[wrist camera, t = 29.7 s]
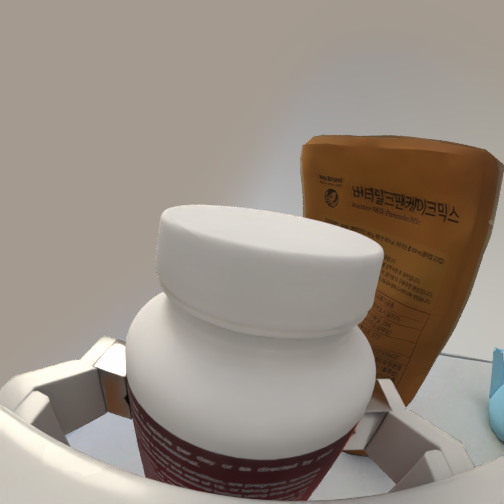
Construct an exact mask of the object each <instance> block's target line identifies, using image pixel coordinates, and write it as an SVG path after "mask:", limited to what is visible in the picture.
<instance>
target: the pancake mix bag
mask: <svg viewBox="0 0 504 504" xmlns="http://www.w3.org/2000/svg"><path fill="white" fill-rule="evenodd" d="M503 172H504V165H503V164H502V163H501V162H500V161H499V160H498V159H496V158H495V157H494V156H493V155H492V154H491V153H489V152H488V151H487V150H485V149H481V148H477V147H472V146H468V145H464V144H459V143H454V142H448V141H442V140H433V139H425V138H417V137H408V136H394V135H389V136H388V135H382V136H352V135H320V136H315V137H313V138H312V139H310V140H309V141H308V142H307V143H306V144H305V145H303V146H302V152H301V158H300V174H301V182H302V193H303V217H304V218H308V219H312V220H317V221H321V222H324V223H328V224H332V225H335V226H338V227H342V228H345V229H348V230H351V231H354V232H356V233H359V234H361V235H363V236H366V237H368V238H370V239H372V240H373V241H375V242H376V243H378V244H379V245H380V246H381V247H382V249H383V252H384V258H383V262H382V266H381V270H380V275H379V279H378V284H377V288H376V291H375V297H374V302H373V305H372V307H371V308H370V310H369V311H368V313H367V316H366V317H365V318H364V319H363V321H362V322H360V323H359V324H358V325H357V326H358V327H359V328H360V330H361V331H362V333H363V334H364V335H365V337H366V338H367V340H368V342H369V344H370V346H371V349H372V352H373V355H374V359H375V365H376V378H375V379H390V380H391V381H392V382H393V384H394V386H395V388H396V390H397V392H398V394H399V395H400V397H401V399H402V401H403V403H404V405H405V407H407V405H408V404H409V403H410V402H411V401H412V400H413V398H414V397H415V395H416V393H417V392H418V390H419V388H420V386H421V385H422V383H423V381H424V380H425V378H426V376H427V375H428V373H429V371H430V369H431V367H432V366H433V364H434V362H435V360H436V358H437V357H438V355H439V354H440V352H441V351H442V349H443V348H444V346H445V345H446V343H447V341H448V340H449V338H450V336H451V335H452V333H453V331H454V329H455V327H456V325H457V323H458V321H459V319H460V317H461V314H462V312H463V310H464V308H465V306H466V303H467V301H468V299H469V297H470V294H471V291H472V288H473V285H474V282H475V279H476V276H477V273H478V270H479V267H480V264H481V261H482V257H483V254H484V252H485V250H486V247H487V245H488V242H489V239H490V237H491V234H492V229H493V224H494V220H495V216H496V211H497V206H498V201H499V195H500V189H501V184H502V177H503ZM342 451H344V452H347V453H350V454H353V455H361V456H368V455H367V454H366V452H365V451H364V450H342Z"/></svg>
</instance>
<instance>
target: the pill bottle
mask: <svg viewBox="0 0 504 504" xmlns="http://www.w3.org/2000/svg"><path fill="white" fill-rule="evenodd" d="M383 258H384V252H383V249H382V247H381V246H380V245H379V244H378V243H376V242H375V241H373V240H372V239H370V238H368V237H366V236H363V235H361V234H359V233H356V232H354V231H351V230H348V229H345V228H342V227H338V226H335V225H332V224H328V223H324V222H321V221H317V220H312V219H308V218H304V217H299V216H294V215H288V214H283V213H277V212H271V211H264V210H257V209H249V208H242V207H230V206H217V205H216V206H215V205H183V206H177V207H172V208H169V209H166V210H165V211H164V212H163V213H162V215H161V219H160V225H159V233H158V242H157V251H156V260H155V269H156V273H157V276H158V281H159V284H160V287H161V289H162V290H163V292H162V293H160V294H159V295H157V296H155V297H154V298H153V299H151V300H150V301H149V302H148V303H147V304H146V305H145V306H144V307H143V308H142V309H141V310H140V311H139V312H138V314H137V315H136V317H135V318H134V320H133V322H132V324H131V326H130V328H129V331H128V334H127V339H126V344H125V368H126V381H127V385H128V392H129V400H130V406H131V412H132V417H133V423H134V428H135V433H136V438H137V443H138V448H139V452H140V456H141V460H142V464H143V468H144V472H145V476H146V478H149V479H152V480H156V481H159V482H163V483H166V484H170V485H174V486H178V487H182V488H187V489H191V490H196V491H201V492H206V493H212V494H218V495H224V496H232V497H240V498H249V499H261V500H277V501H307V500H308V499H309V497H310V496H311V495H312V493H313V492H314V491H315V489H317V487H318V485H319V484H320V482H321V481H322V480H323V478H324V477H325V475H326V474H327V472H328V471H329V469H330V468H331V467H332V465H333V464H334V462H335V460H336V459H337V457H338V456H339V455H340V453H341V452H342V450H343V449H344V447H345V446H346V444H347V442H348V440H349V439H350V437H351V436H352V434H353V432H354V430H355V429H356V427H357V425H358V423H359V421H360V420H361V418H362V416H363V414H364V411H365V409H366V407H367V405H368V403H369V401H370V399H371V396H372V393H373V390H374V385H375V378H376V365H375V359H374V355H373V352H372V349H371V346H370V344H369V342H368V340H367V338H366V337H365V335H364V334H363V333H362V331H361V330H360V328H359V327H358V326H357V325H358V324H359V323H360V322H362V321H363V319H364V318H365V317H366V316H367V313H368V311H369V310H370V308H371V307H372V305H373V302H374V297H375V291H376V288H377V284H378V279H379V275H380V270H381V266H382V262H383Z"/></svg>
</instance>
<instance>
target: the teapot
mask: <svg viewBox="0 0 504 504" xmlns="http://www.w3.org/2000/svg"><path fill="white" fill-rule="evenodd" d="M489 398H490V400H489V421H490V425H491V427H492V429H493V431H494V433H495V434H496V435H497V437H498V438H499V439H500V440H501V441H502V442H503V443H504V360H503V350H501V349H498V348H495V349H494V352H493V367H492V378H491V387H490V395H489Z"/></svg>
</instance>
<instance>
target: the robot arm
mask: <svg viewBox="0 0 504 504" xmlns="http://www.w3.org/2000/svg"><path fill="white" fill-rule="evenodd" d="M125 344H126V342H125V341H122V340H118V339H115V338H112V337H108V336H102V337H101V338H100V339H99V340H98V341H97V342H96V343H95V344H94V346H93V347H92V348H91V349H90V350H89V351H88V352H87V353H86V354H85V355H84V356H83V357H82V358H81V359H80V360H79V361H77V360H72V361H68V362H65V363H61V364H57V365H54V366H50V367H46V368H43V369H39V370H35V371H32V372H27V373H23V374H19V375H15V376H14V377H13V378H12V379H10V380H9V381H8V382H7V383H6V384H5V385H4V386H3V387H2V388H1V389H0V504H504V455H502V456H500V457H498V458H496V459H494V460H492V461H489V462H487V463H485V464H483V465H480V466H478V467H475V466H474V464H473V462H472V460H471V459H470V457H469V455H468V453H467V451H466V449H465V448H464V446H463V444H462V442H460V441H459V440H457V439H455V438H454V437H452V436H451V435H449V434H447V433H446V432H444V431H443V430H441V429H440V428H438V427H436V426H435V425H433V424H432V423H430V422H429V421H427V420H426V419H424V418H422V417H421V416H419V415H418V414H416V413H415V412H413V411H412V410H407V409H406V407H405V405H404V403H403V401H402V399H401V397H400V395H399V394H398V392H397V390H396V388H395V386H394V384H393V382H392V381H391V380H390V379H375V385H374V390H373V393H372V396H371V399H370V401H369V403H368V405H367V407H366V409H365V411H364V414H363V416H362V418H361V420H360V421H359V423H358V425H357V427H356V429H355V430H354V432H353V434H352V436H351V437H350V439H349V440H348V442H347V444H346V446H345V447H344V449H343V450H364V451H365V452H366V454H367V455H368V456H369V457H370V458H371V459H372V460H373V461H374V462H375V463H376V464H377V465H378V466H379V467H380V468H381V469H382V470H383V471H384V472H385V473H386V474H387V475H388V476H389V477H390V478H391V479H392V480H393V481H394V482H395V483H396V485H395V486H394V487H393V488H392V489H391V490H390V491H389V492H388V493H384V494H379V495H372V496H365V497H357V498H348V499H337V500H320V501H277V500H261V499H249V498H240V497H232V496H224V495H218V494H212V493H206V492H201V491H196V490H191V489H187V488H182V487H178V486H174V485H170V484H166V483H163V482H159V481H156V480H152V479H149V478H146V477H143V476H140V475H137V474H134V473H131V472H128V471H125V470H122V469H120V468H117V467H114V466H112V465H109V464H107V463H104V462H102V461H100V460H97V459H95V458H93V457H91V456H88V455H86V454H84V453H82V452H80V451H78V450H76V449H74V448H72V447H71V446H70V445H69V443H68V441H67V439H66V437H65V435H66V434H68V433H70V432H72V431H74V430H76V429H78V428H80V427H82V426H84V425H86V424H88V423H89V422H91V421H93V420H95V419H97V418H99V417H100V416H102V415H104V414H106V413H107V412H110V413H113V414H116V415H119V416H122V417H125V418H129V419H132V418H133V417H132V412H131V406H130V400H129V392H128V385H127V381H126V368H125Z"/></svg>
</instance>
